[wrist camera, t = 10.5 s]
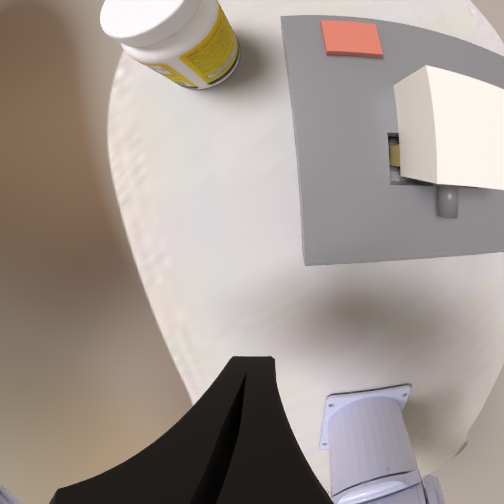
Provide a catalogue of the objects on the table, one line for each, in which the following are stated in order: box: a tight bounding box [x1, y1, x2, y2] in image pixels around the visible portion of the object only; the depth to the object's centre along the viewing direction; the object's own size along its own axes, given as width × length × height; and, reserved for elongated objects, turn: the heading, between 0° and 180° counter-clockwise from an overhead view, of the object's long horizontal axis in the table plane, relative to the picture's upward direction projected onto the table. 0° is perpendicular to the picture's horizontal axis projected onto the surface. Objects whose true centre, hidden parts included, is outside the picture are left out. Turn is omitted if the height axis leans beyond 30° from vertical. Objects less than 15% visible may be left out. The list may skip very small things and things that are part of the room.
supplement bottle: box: [100, 0, 240, 89], centre depth 10 cm, size 5×5×8 cm
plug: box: [389, 65, 504, 219], centre depth 11 cm, size 7×5×6 cm
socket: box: [281, 15, 504, 266], centre depth 12 cm, size 14×16×3 cm
